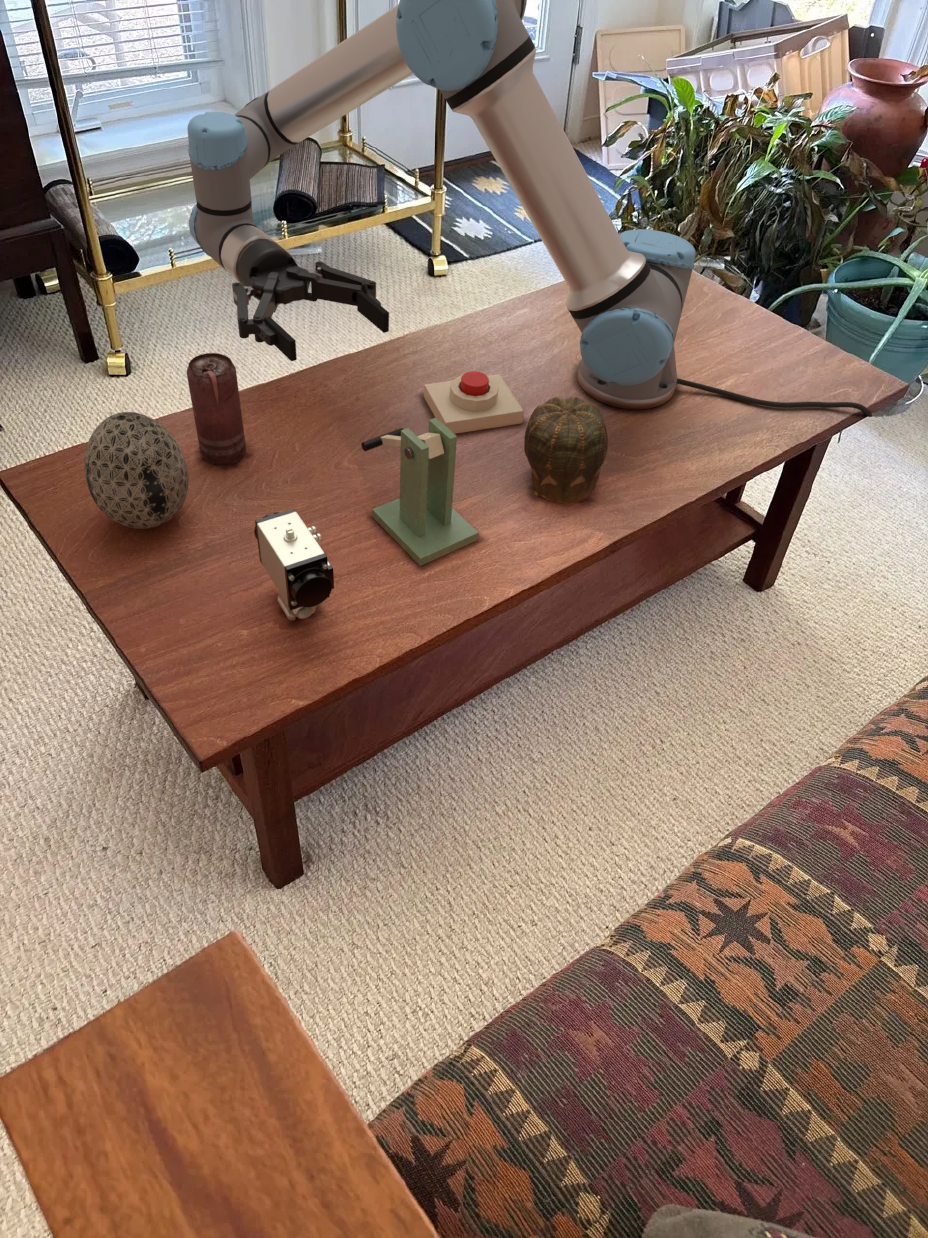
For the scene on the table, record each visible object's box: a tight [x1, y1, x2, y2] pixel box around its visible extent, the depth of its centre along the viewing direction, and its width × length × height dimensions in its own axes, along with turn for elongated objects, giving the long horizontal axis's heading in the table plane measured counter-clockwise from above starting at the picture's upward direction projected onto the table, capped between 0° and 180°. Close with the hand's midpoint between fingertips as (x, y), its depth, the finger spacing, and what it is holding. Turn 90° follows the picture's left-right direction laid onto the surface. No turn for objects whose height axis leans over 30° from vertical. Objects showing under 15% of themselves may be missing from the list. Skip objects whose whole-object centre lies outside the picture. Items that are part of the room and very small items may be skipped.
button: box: [461, 370, 489, 396], centre depth 137 cm, size 4×4×2 cm
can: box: [186, 352, 247, 467], centre depth 125 cm, size 6×6×14 cm
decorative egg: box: [84, 411, 190, 530], centre depth 114 cm, size 12×12×15 cm
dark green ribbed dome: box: [523, 395, 609, 504], centre depth 126 cm, size 11×11×12 cm
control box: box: [423, 373, 525, 435], centre depth 139 cm, size 12×10×4 cm
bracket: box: [371, 417, 480, 567], centre depth 116 cm, size 11×9×15 cm
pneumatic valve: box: [253, 508, 335, 621], centre depth 107 cm, size 6×12×12 cm, turn 30°
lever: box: [360, 427, 444, 459], centre depth 116 cm, size 13×6×2 cm, turn 36°
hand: (341, 336), depth 119 cm, fingers open, 13 cm apart
